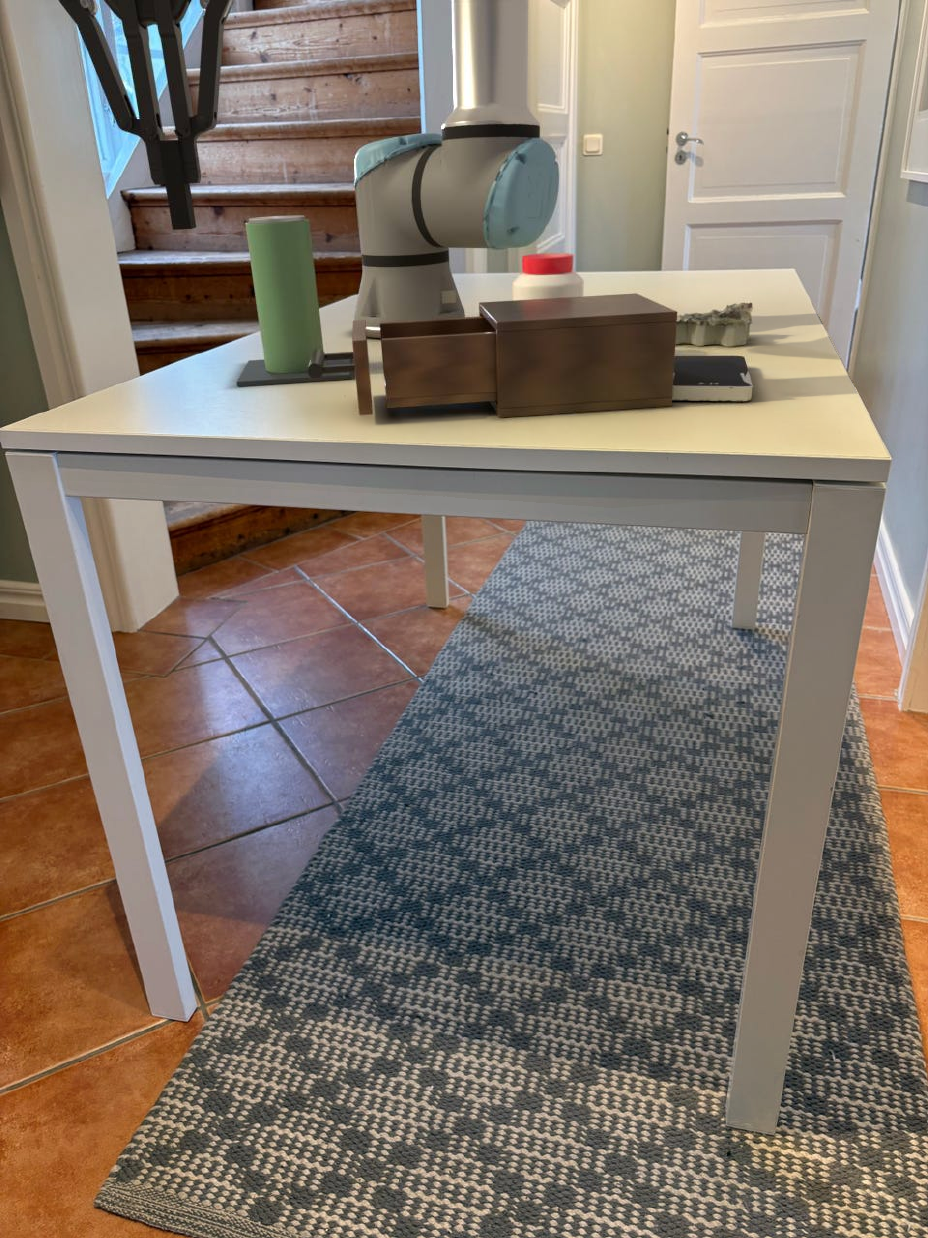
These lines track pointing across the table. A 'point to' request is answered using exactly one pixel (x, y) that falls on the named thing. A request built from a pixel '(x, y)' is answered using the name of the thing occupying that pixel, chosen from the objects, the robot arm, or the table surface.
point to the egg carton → (716, 326)
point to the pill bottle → (547, 277)
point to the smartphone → (711, 378)
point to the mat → (284, 374)
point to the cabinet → (582, 354)
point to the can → (285, 291)
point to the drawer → (422, 362)
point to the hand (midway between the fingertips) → (184, 228)
